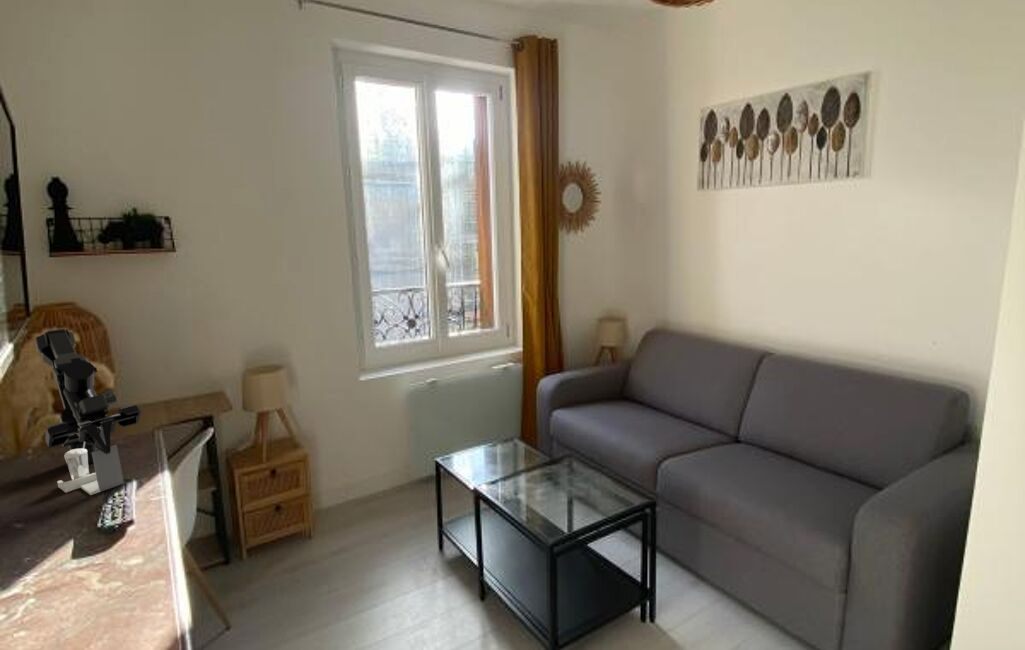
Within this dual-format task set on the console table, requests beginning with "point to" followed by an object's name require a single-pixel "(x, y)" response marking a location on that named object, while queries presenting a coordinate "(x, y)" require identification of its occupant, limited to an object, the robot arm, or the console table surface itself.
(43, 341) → the robot arm
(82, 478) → the white bracket
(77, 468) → the milkshake
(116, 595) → the console table surface
